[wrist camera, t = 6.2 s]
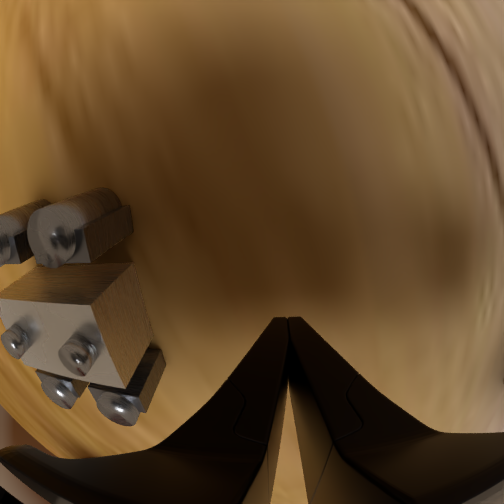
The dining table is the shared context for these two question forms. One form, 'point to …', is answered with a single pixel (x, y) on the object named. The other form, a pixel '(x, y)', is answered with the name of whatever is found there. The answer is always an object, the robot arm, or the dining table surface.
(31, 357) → the block with round pegs
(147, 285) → the dining table surface
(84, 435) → the dining table surface
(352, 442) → the robot arm
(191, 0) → the dining table surface
